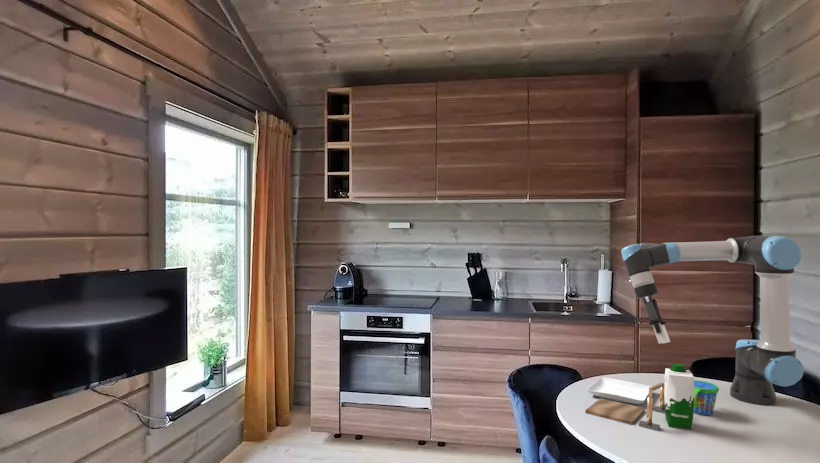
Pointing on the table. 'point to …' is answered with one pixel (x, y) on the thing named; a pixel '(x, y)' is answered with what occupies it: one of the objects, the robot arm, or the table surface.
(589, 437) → the table surface
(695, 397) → the snack cup
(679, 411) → the soya milk
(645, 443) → the table surface
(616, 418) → the walnut board
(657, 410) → the copper wire
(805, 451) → the table surface
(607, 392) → the salad plate
